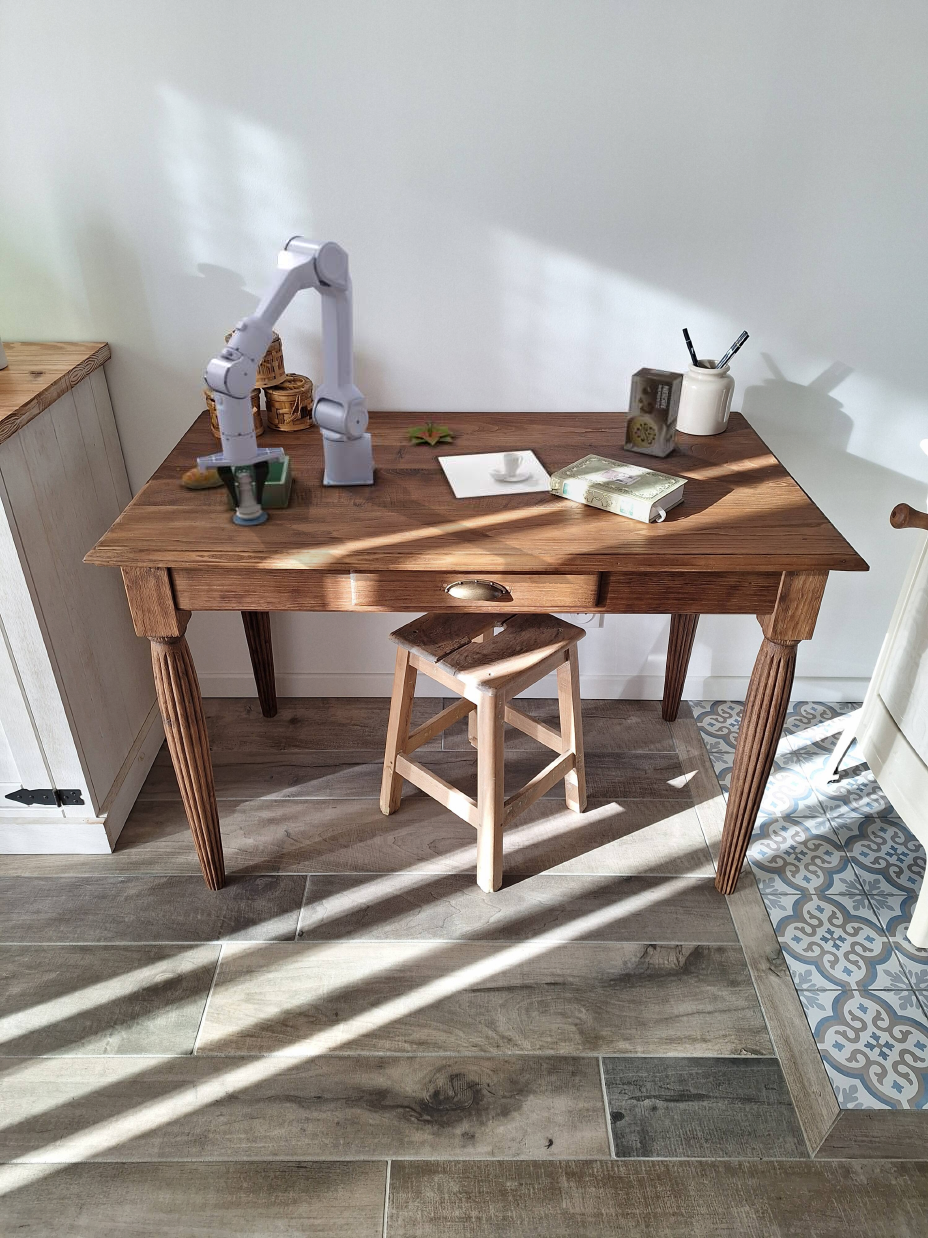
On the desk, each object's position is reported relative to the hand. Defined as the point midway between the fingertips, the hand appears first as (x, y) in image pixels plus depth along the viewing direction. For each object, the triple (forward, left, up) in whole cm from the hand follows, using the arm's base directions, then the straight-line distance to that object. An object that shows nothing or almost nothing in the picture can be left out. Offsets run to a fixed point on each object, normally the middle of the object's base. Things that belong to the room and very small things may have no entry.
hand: (248, 503), depth 151 cm
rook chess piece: (0, 0, -2) cm, 2 cm away
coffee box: (-81, -27, -3) cm, 85 cm away
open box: (-1, -10, -3) cm, 11 cm away
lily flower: (-35, -37, -3) cm, 50 cm away
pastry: (+9, -17, -3) cm, 19 cm away
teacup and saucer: (-47, -17, -3) cm, 49 cm away
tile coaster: (0, 0, -3) cm, 3 cm away
